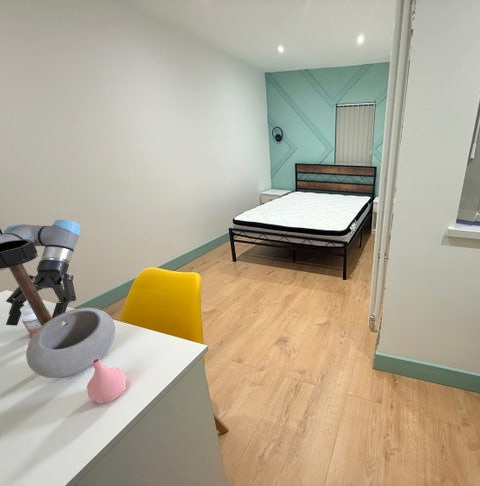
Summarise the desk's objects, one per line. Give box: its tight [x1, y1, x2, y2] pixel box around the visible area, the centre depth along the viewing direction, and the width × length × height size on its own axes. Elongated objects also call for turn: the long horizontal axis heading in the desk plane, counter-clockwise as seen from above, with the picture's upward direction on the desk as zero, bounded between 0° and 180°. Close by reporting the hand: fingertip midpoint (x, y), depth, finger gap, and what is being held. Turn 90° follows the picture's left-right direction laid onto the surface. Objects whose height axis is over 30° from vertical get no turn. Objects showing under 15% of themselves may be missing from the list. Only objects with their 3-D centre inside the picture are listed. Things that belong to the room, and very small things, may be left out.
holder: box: [0, 239, 39, 270], centre depth 64 cm, size 9×9×4 cm
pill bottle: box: [20, 303, 52, 338], centre depth 86 cm, size 6×6×11 cm
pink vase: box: [86, 358, 127, 404], centre depth 65 cm, size 8×8×12 cm
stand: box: [8, 263, 52, 326], centre depth 72 cm, size 8×8×33 cm
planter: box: [25, 307, 116, 379], centre depth 72 cm, size 18×7×19 cm, turn 153°
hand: (33, 324), depth 85 cm, fingers open, 13 cm apart
